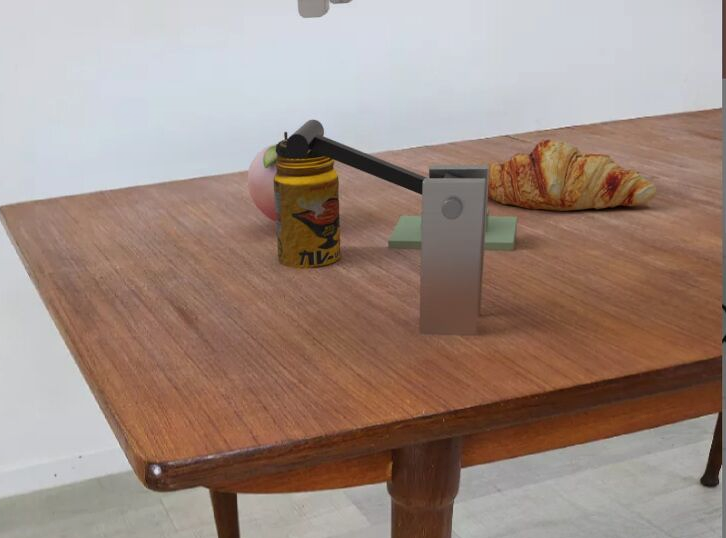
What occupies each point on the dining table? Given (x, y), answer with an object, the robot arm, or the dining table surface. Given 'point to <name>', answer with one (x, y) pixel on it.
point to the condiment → (306, 210)
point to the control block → (496, 235)
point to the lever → (350, 156)
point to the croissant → (566, 180)
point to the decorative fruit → (264, 180)
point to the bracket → (452, 249)
